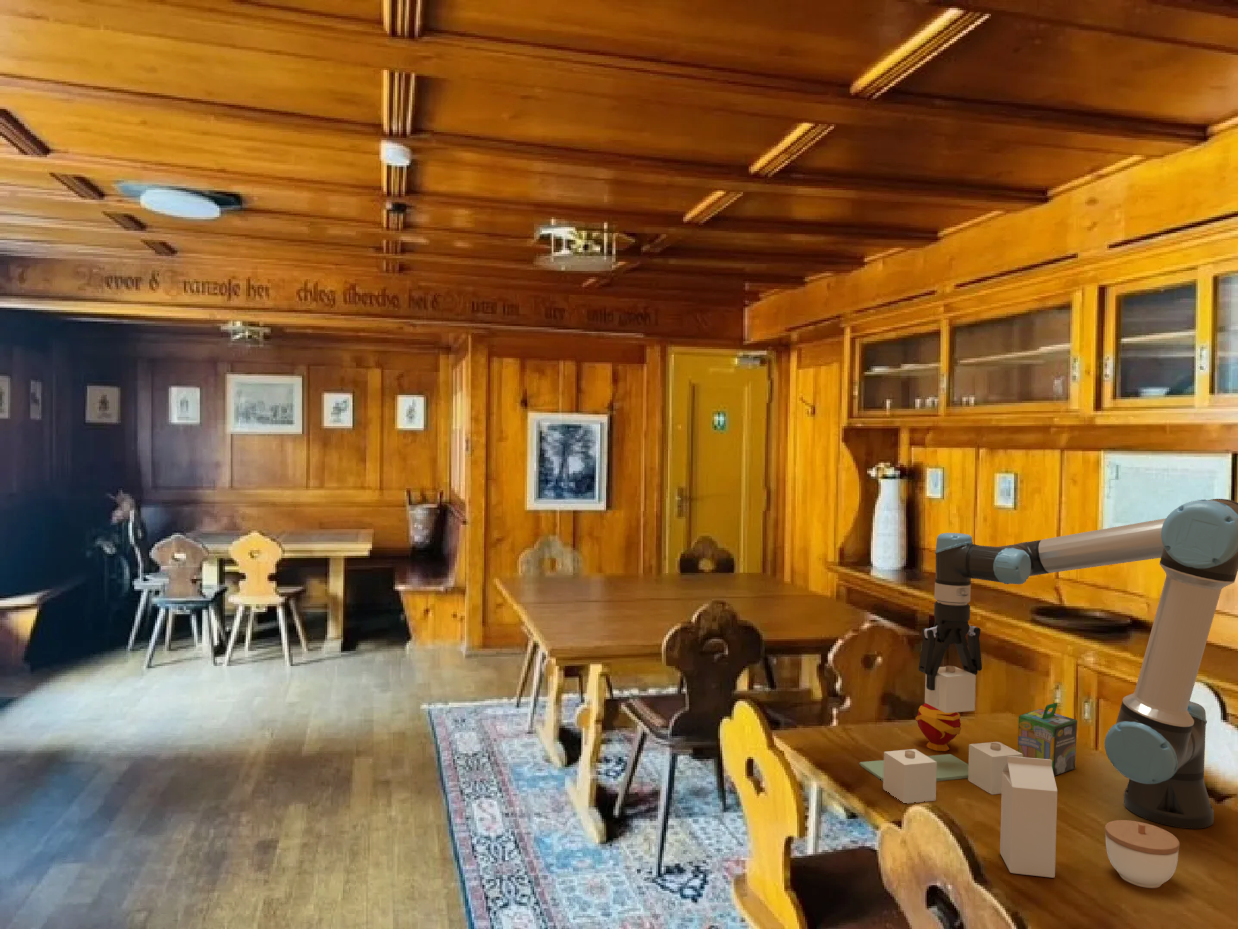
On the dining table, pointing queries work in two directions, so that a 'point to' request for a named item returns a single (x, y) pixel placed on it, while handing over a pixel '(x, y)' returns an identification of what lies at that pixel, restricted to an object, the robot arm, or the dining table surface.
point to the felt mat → (946, 770)
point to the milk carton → (1028, 816)
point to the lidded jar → (1141, 852)
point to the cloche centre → (954, 690)
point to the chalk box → (1048, 738)
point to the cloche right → (989, 765)
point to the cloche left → (909, 776)
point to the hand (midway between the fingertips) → (949, 702)
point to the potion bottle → (938, 726)
